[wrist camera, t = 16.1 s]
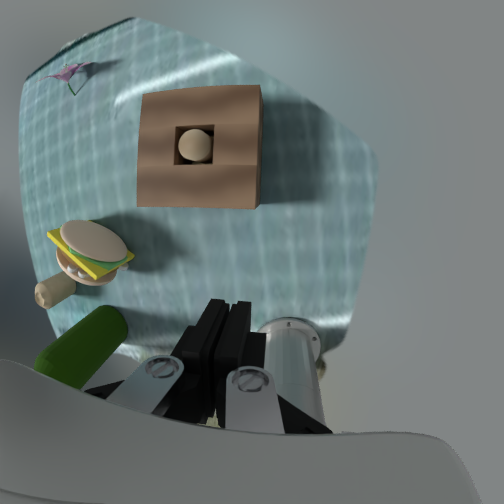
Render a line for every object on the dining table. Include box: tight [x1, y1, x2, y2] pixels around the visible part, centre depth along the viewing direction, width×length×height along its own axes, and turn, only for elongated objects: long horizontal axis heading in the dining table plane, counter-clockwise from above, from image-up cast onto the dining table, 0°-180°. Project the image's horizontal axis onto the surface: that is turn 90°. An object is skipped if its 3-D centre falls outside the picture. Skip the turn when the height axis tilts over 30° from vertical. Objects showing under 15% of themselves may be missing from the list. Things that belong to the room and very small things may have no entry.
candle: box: [35, 271, 76, 309], centre depth 44 cm, size 6×6×10 cm
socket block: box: [137, 85, 264, 209], centre depth 36 cm, size 16×16×9 cm
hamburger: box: [47, 220, 135, 286], centre depth 40 cm, size 12×8×12 cm
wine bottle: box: [34, 305, 128, 389], centre depth 34 cm, size 9×9×32 cm
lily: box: [35, 62, 92, 96], centre depth 35 cm, size 12×12×10 cm
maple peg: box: [179, 129, 214, 164], centre depth 35 cm, size 4×4×7 cm
